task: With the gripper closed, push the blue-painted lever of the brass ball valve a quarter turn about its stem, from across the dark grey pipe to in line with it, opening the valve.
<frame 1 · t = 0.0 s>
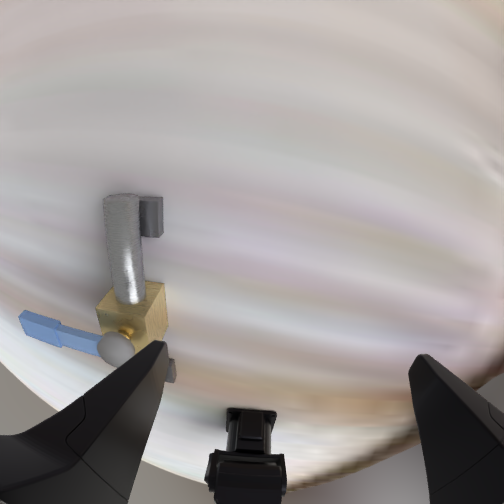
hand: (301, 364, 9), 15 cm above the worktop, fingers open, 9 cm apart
valve lever: (70, 337, 20), point 7 cm above the worktop, hinge at 0.0°
pipe run: (144, 302, 26), on the worktop
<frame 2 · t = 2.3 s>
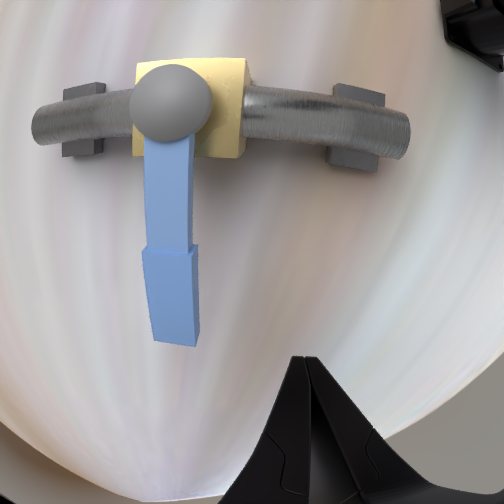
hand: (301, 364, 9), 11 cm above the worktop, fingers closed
valve lever: (169, 220, 11), point 7 cm above the worktop, hinge at 0.0°
pipe run: (207, 112, 16), on the worktop
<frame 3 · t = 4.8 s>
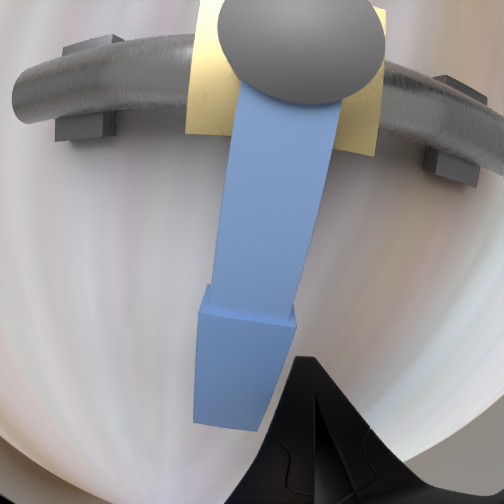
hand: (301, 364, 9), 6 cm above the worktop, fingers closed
valve lever: (258, 258, 6), point 7 cm above the worktop, hinge at -4.1°, touching gripper
pipe run: (279, 85, 10), on the worktop
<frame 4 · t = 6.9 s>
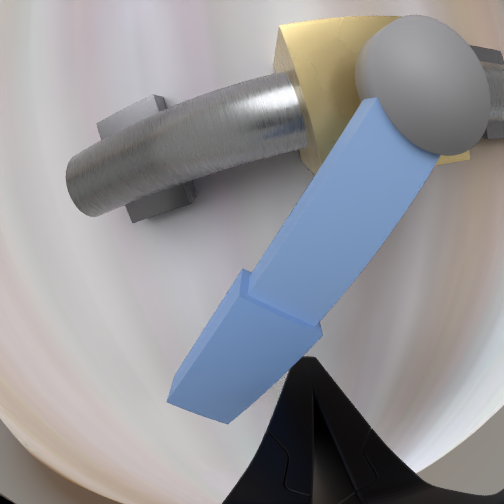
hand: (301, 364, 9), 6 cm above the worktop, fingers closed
valve lever: (312, 260, 6), point 7 cm above the worktop, hinge at -46.0°, touching gripper
pipe run: (342, 101, 11), on the worktop
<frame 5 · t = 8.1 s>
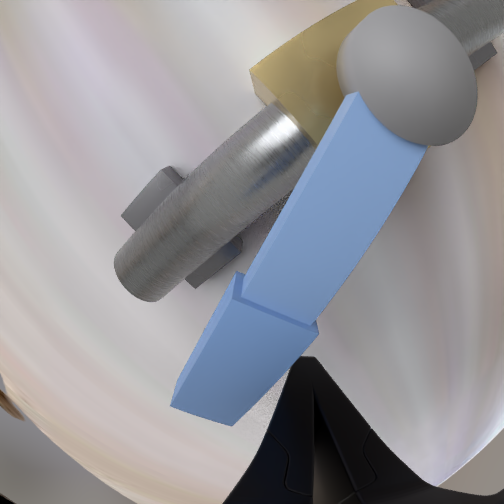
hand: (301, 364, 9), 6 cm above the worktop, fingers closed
valve lever: (304, 260, 6), point 7 cm above the worktop, hinge at -68.0°, touching gripper
pipe run: (333, 99, 11), on the worktop
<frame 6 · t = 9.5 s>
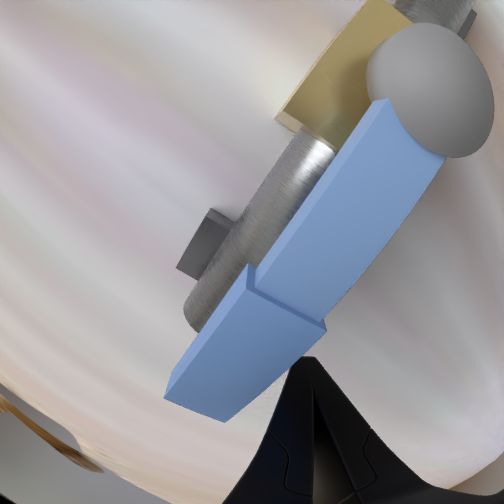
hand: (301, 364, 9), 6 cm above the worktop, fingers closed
valve lever: (319, 256, 6), point 7 cm above the worktop, hinge at -89.1°, touching gripper
pipe run: (347, 105, 11), on the worktop
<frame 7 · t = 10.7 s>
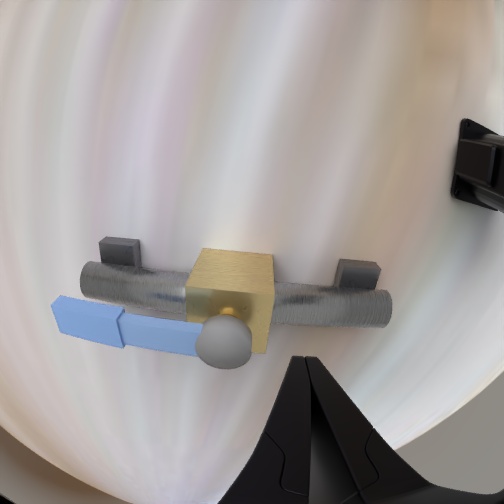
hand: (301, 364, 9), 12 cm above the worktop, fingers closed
valve lever: (142, 332, 15), point 7 cm above the worktop, hinge at -89.2°
pipe run: (235, 279, 21), on the worktop
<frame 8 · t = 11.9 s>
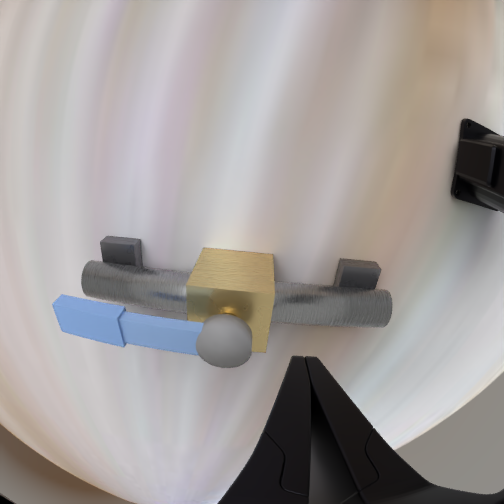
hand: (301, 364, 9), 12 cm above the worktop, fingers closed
valve lever: (143, 330, 15), point 7 cm above the worktop, hinge at -89.2°
pipe run: (236, 278, 21), on the worktop
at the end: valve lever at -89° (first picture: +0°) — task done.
